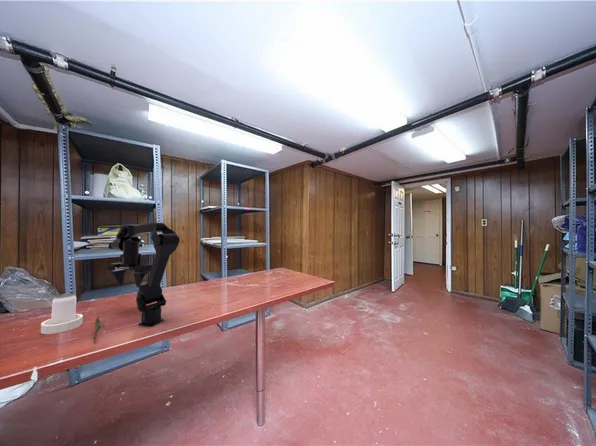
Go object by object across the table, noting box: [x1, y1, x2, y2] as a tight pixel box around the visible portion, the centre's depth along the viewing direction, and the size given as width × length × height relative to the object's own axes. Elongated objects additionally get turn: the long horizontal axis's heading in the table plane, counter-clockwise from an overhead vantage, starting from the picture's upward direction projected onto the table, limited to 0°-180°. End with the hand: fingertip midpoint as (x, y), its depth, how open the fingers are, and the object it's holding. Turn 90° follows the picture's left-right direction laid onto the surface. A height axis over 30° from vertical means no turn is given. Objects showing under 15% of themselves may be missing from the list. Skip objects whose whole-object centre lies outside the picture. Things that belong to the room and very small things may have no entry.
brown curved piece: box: [93, 314, 105, 342], centre depth 79 cm, size 15×2×5 cm, turn 38°
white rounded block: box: [50, 292, 77, 325], centre depth 84 cm, size 6×6×12 cm
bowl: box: [40, 313, 84, 335], centre depth 84 cm, size 11×11×3 cm
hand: (129, 286), depth 97 cm, fingers open, 9 cm apart
